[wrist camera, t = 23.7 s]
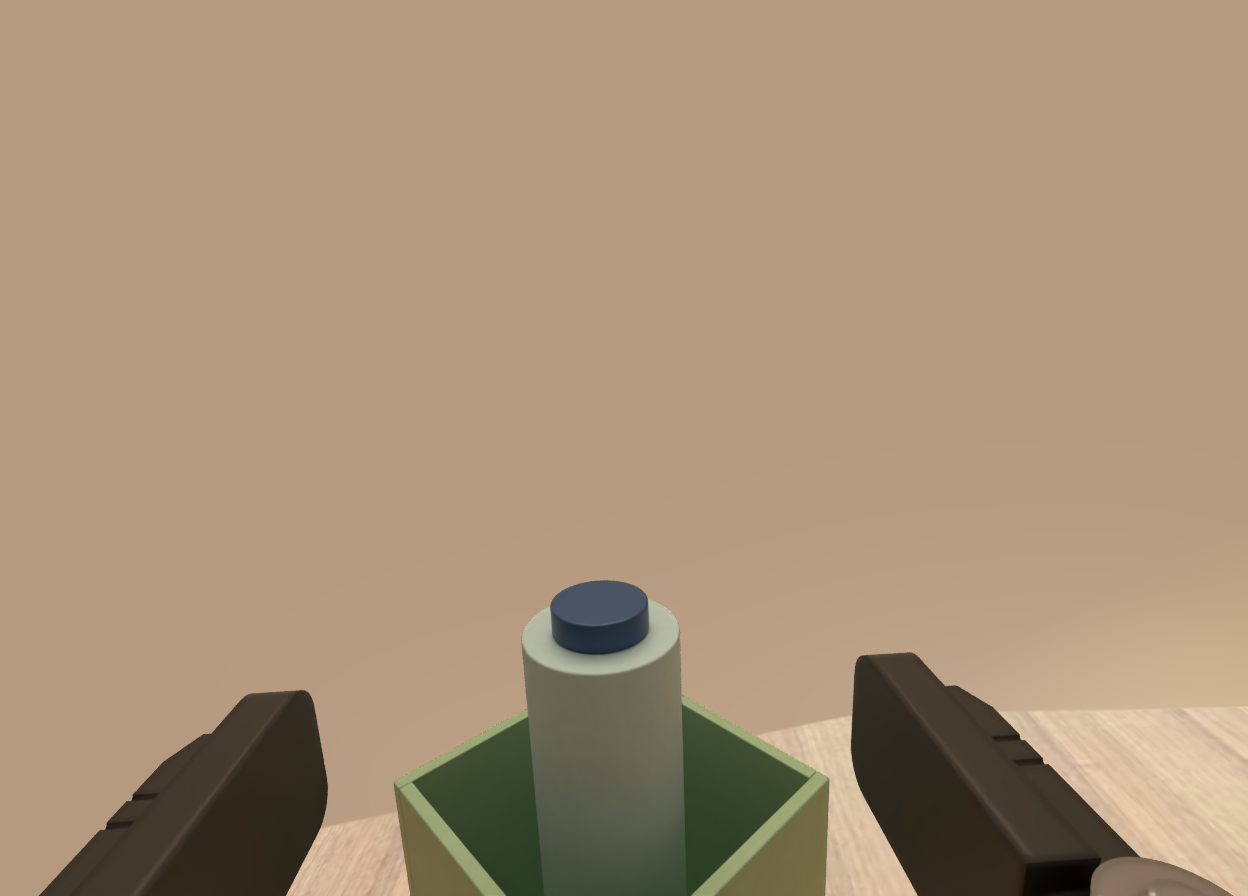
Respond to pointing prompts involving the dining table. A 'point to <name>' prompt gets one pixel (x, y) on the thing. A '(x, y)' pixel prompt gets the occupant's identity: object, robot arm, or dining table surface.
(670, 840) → the bottle
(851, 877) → the dining table surface
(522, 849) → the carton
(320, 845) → the dining table surface
